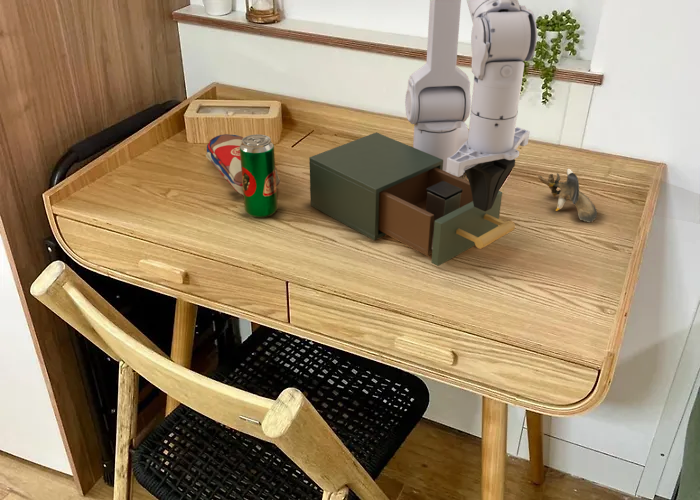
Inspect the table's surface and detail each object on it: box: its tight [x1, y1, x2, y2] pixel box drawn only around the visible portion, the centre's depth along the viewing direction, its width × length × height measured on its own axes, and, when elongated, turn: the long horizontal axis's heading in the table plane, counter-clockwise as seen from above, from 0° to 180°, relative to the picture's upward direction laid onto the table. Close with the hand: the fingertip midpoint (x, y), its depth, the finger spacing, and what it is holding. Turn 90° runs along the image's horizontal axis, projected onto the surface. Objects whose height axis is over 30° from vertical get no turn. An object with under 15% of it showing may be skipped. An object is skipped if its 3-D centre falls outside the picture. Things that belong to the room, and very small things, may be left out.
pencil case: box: [205, 133, 281, 197], centre depth 120 cm, size 11×20×5 cm, turn 14°
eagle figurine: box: [537, 168, 598, 223], centre depth 111 cm, size 8×7×9 cm
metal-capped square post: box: [426, 181, 463, 233], centre depth 101 cm, size 4×4×6 cm
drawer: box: [378, 167, 516, 267], centre depth 101 cm, size 18×13×7 cm
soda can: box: [240, 133, 278, 219], centre depth 108 cm, size 5×5×12 cm
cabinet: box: [308, 132, 443, 241], centre depth 110 cm, size 14×14×8 cm
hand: (482, 207), depth 95 cm, fingers closed
